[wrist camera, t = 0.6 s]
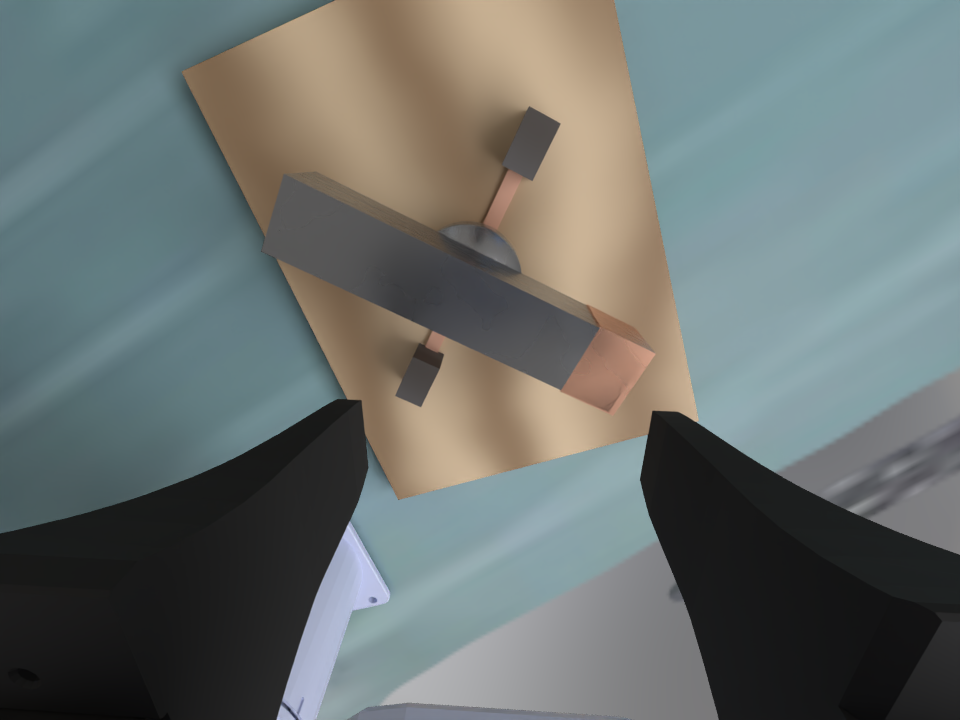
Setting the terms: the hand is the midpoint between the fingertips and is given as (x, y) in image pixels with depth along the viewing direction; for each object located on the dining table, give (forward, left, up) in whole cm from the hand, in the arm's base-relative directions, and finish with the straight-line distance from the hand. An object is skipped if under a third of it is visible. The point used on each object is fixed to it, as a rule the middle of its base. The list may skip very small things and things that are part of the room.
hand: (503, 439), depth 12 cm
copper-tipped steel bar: (0, +3, -8) cm, 8 cm away
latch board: (-1, +3, -10) cm, 11 cm away
